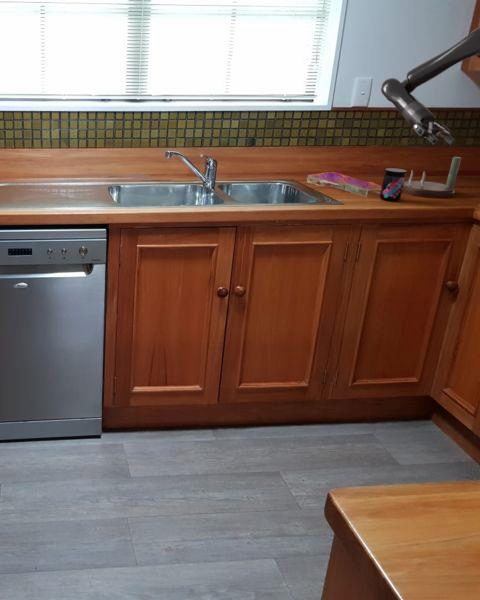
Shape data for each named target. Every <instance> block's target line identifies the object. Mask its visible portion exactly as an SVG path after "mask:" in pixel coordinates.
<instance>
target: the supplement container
mask: <svg viewBox="0 0 480 600" xmlns="http://www.w3.org/2000/svg"><path fill="white" fill-rule="evenodd" d="M407 171H408V170H406V169H402V168H395V167H394V168H393V167H391V168H390V167H389V168H387V167H386V168H385V170H384V175H383V180H382V184H381V186H382V188H380V194H379V198H380V200H382V201H384V202H385V201H386V202H399V201H401V198H402V194H403V192H402V189H403V185H404V182H406V181H405V180H406V176H407Z"/></svg>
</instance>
